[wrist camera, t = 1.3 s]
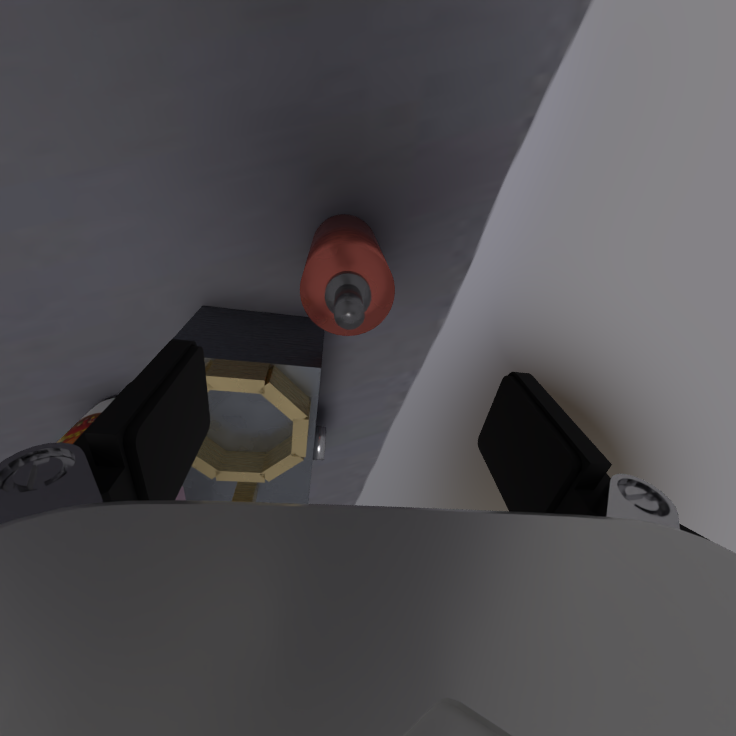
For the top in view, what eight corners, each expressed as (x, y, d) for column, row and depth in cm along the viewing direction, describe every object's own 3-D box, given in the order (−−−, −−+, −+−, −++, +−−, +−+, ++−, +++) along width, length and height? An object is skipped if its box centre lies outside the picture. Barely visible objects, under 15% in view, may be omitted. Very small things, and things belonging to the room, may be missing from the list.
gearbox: (202, 305, 28) (135, 380, 19) (336, 320, 30) (336, 396, 21) (215, 434, 35) (171, 534, 26) (323, 440, 37) (318, 537, 28)
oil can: (314, 209, 25) (296, 252, 14) (381, 219, 26) (414, 268, 15) (310, 276, 28) (291, 357, 17) (371, 284, 28) (392, 367, 17)
